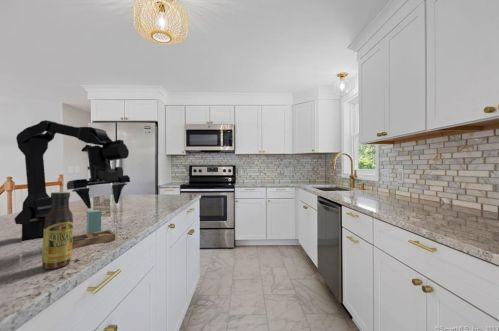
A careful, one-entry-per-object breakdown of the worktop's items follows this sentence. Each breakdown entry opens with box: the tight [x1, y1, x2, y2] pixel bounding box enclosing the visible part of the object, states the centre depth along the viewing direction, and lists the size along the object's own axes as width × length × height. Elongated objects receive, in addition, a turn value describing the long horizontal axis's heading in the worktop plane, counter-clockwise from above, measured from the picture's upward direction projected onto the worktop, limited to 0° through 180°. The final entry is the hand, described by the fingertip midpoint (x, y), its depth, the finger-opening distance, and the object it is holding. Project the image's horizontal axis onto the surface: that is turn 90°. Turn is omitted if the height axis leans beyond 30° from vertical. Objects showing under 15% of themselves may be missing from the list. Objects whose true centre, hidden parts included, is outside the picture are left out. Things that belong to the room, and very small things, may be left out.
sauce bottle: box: [41, 191, 74, 270], centre depth 63 cm, size 7×6×20 cm
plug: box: [86, 209, 102, 233], centre depth 90 cm, size 4×4×9 cm
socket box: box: [72, 229, 116, 249], centre depth 81 cm, size 14×8×3 cm, turn 134°
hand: (103, 205), depth 83 cm, fingers open, 9 cm apart
